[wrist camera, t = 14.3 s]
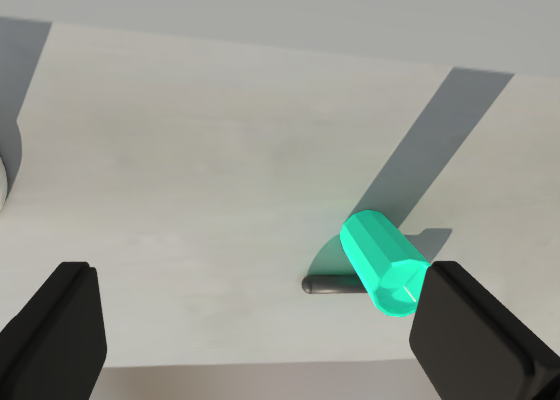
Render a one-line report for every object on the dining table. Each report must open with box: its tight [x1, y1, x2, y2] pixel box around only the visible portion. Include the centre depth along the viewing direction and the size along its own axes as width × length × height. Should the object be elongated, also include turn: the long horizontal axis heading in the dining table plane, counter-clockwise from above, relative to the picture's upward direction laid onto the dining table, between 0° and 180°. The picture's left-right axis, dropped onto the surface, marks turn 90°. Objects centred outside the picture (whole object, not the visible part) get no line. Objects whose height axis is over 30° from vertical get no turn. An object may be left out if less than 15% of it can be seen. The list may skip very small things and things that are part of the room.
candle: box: [340, 210, 431, 317], centre depth 35 cm, size 6×6×12 cm
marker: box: [302, 275, 368, 294], centre depth 41 cm, size 14×2×2 cm, turn 86°
